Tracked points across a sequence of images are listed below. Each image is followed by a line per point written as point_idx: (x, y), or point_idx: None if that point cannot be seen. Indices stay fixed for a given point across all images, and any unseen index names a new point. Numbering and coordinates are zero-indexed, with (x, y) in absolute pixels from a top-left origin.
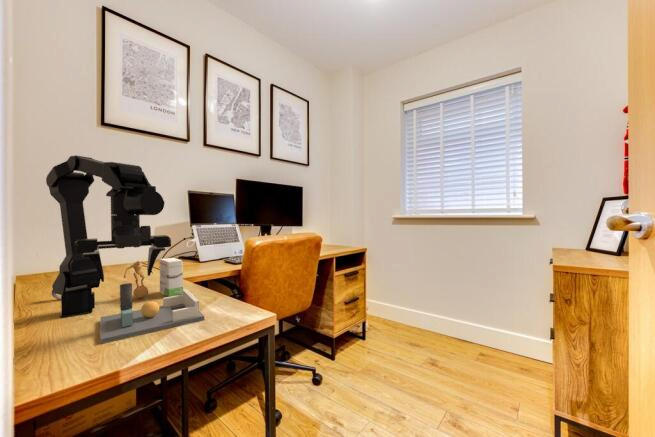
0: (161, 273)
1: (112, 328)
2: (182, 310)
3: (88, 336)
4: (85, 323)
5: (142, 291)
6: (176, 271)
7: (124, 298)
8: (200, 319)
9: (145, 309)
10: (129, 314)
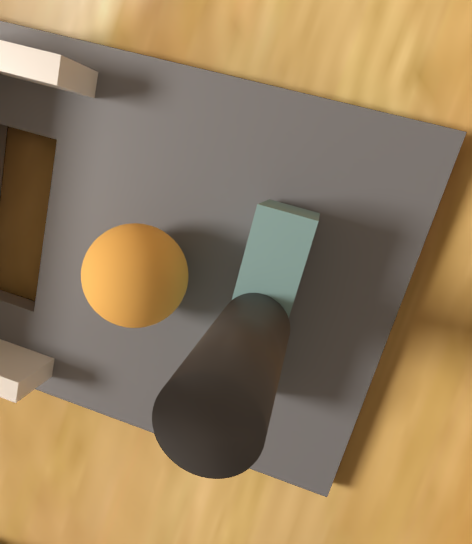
0: None
1: (356, 258)
2: (12, 44)
3: (450, 309)
4: (386, 511)
5: None
6: None
7: (262, 331)
8: None
9: (166, 252)
10: (278, 208)
